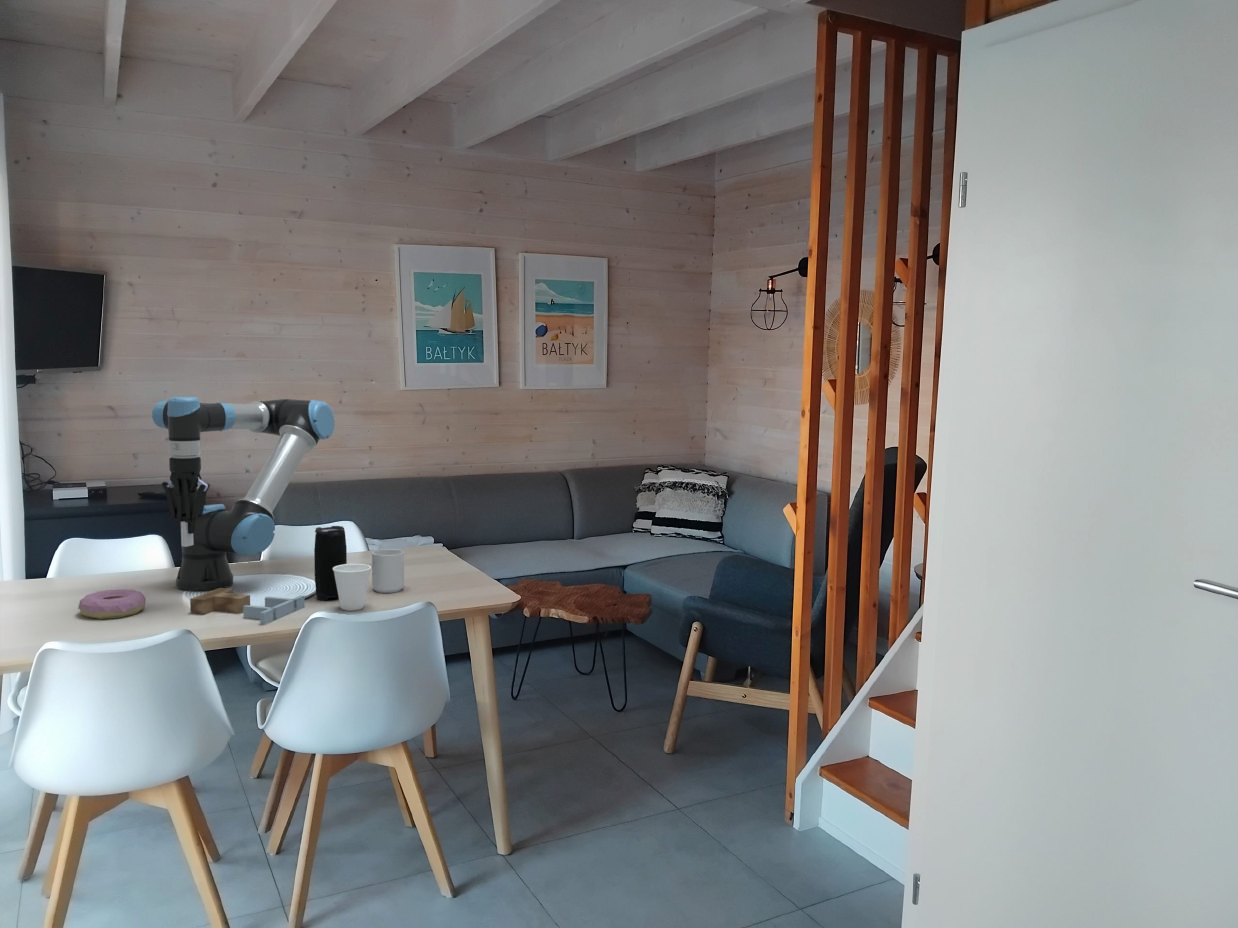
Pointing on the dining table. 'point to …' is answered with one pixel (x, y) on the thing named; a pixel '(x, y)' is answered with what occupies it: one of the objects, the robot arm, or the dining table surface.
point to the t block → (219, 602)
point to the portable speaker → (328, 559)
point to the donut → (112, 603)
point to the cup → (352, 585)
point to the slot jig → (273, 608)
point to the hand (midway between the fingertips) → (187, 545)
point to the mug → (387, 570)
